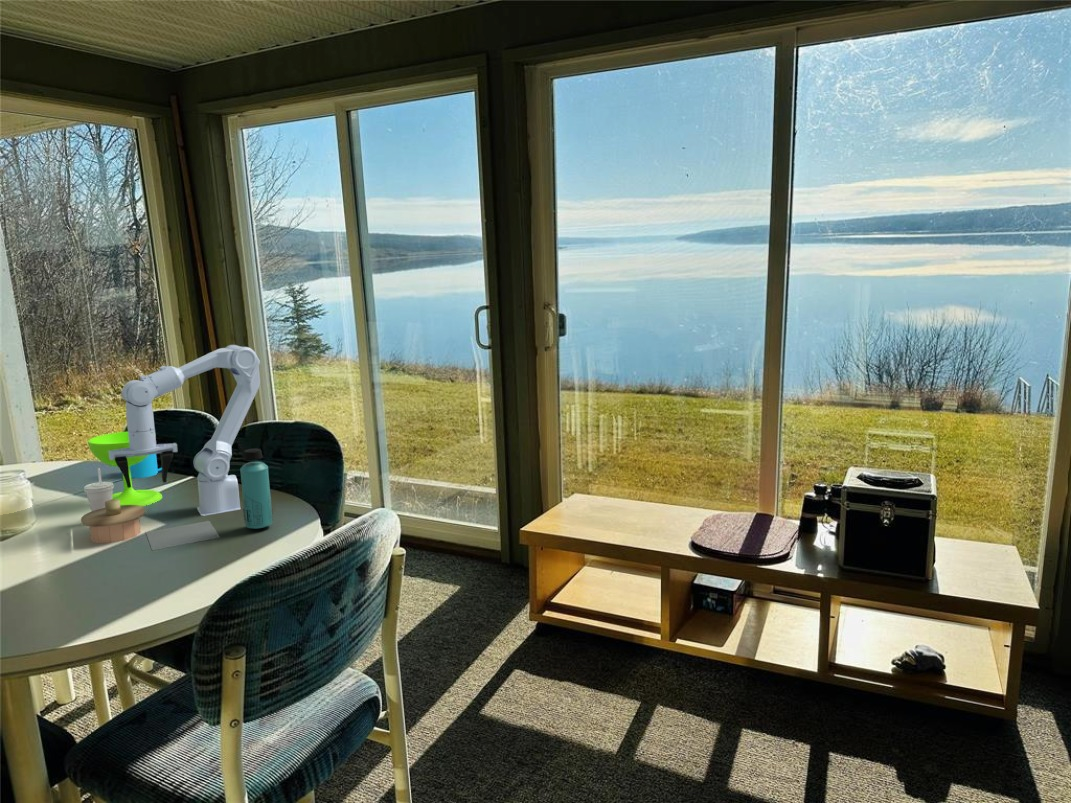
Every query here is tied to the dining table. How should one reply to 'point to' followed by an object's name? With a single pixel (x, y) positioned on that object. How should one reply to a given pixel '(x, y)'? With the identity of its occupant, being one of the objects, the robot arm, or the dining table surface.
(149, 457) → the mug
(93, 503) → the smoothie
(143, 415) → the robot arm
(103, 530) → the bowl
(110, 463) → the wineglass
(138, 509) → the lid
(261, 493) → the beverage bottle
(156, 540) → the mat
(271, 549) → the dining table surface
